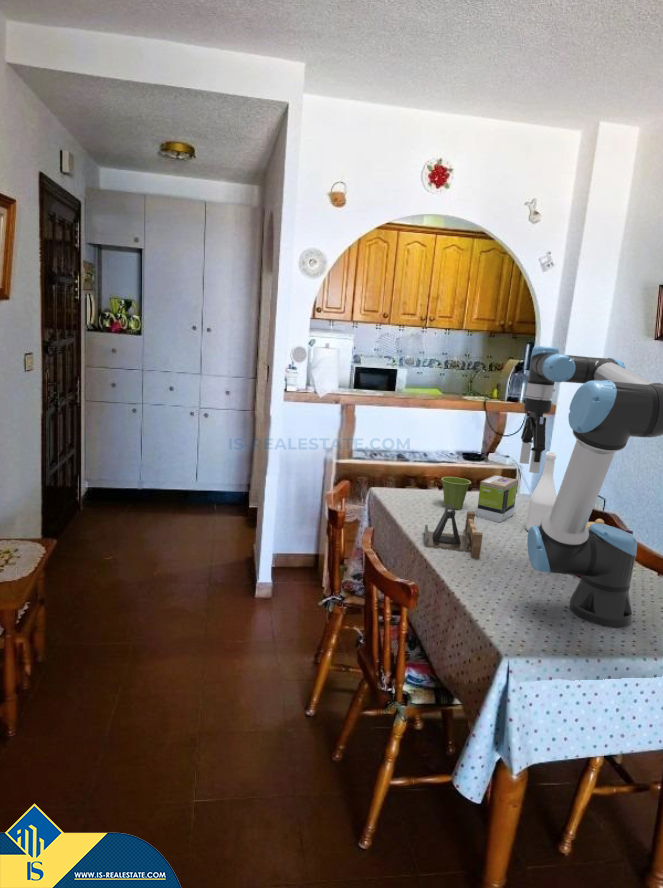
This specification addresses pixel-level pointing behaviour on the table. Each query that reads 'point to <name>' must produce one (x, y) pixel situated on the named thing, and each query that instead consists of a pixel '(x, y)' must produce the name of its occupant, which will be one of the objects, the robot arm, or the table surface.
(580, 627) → the table surface
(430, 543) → the keeper plate
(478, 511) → the tea box
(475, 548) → the door pull handle
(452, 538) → the phone stand
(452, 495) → the plant pot
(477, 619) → the table surface
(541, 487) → the wine bottle
